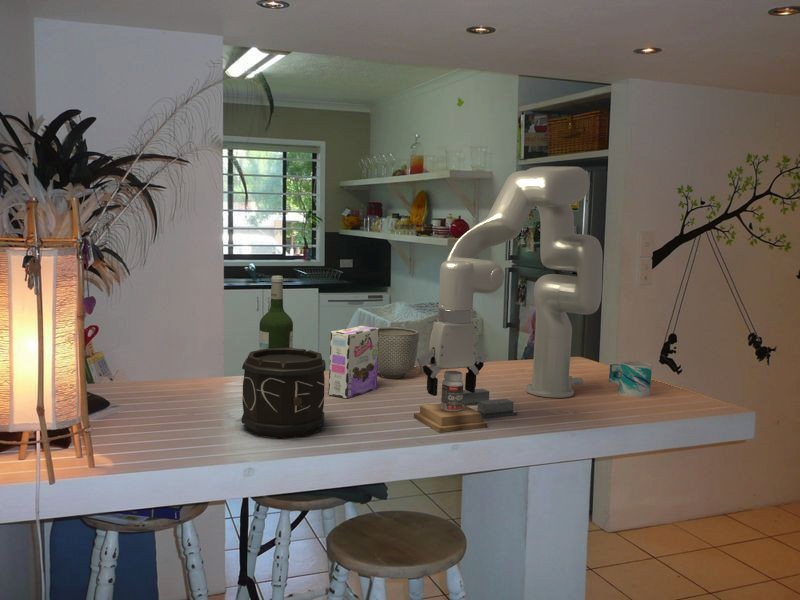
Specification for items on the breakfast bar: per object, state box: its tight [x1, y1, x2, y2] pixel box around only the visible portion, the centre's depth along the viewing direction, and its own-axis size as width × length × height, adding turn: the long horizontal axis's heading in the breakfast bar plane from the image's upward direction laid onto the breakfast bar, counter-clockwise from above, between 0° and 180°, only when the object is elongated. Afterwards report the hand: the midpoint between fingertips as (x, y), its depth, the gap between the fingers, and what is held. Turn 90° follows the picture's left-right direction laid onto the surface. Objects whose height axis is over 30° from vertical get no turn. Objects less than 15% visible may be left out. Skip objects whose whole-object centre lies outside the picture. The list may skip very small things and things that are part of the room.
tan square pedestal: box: [413, 403, 488, 433], centre depth 167 cm, size 12×12×3 cm
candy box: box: [328, 325, 379, 399], centre depth 190 cm, size 14×6×16 cm, turn 148°
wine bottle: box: [258, 275, 294, 350], centre depth 179 cm, size 8×8×30 cm
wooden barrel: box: [240, 347, 327, 440], centre depth 158 cm, size 18×18×16 cm
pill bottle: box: [440, 370, 464, 412], centre depth 167 cm, size 5×5×8 cm
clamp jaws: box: [462, 388, 518, 419], centre depth 181 cm, size 9×15×3 cm, turn 26°
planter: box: [377, 326, 420, 380], centre depth 211 cm, size 14×14×13 cm
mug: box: [608, 360, 653, 399], centre depth 203 cm, size 8×12×8 cm
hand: (451, 392), depth 167 cm, fingers open, 9 cm apart
